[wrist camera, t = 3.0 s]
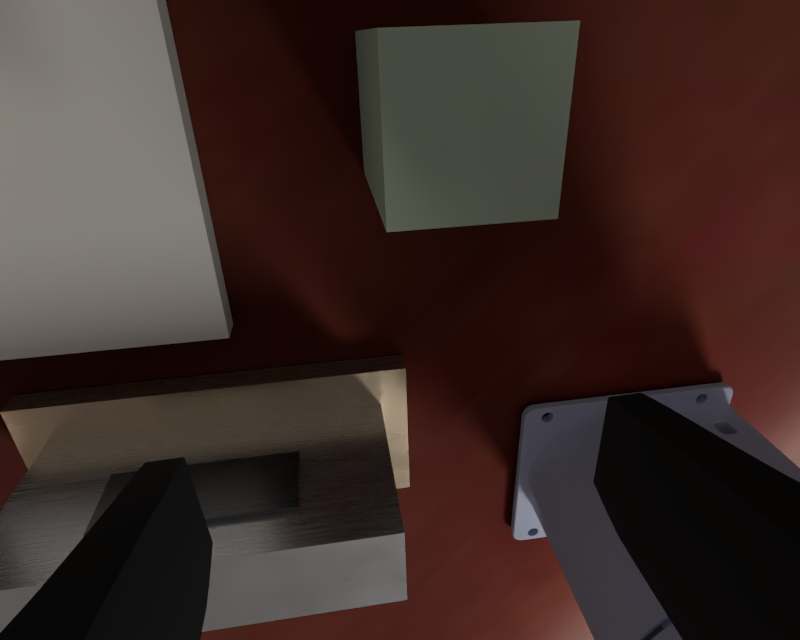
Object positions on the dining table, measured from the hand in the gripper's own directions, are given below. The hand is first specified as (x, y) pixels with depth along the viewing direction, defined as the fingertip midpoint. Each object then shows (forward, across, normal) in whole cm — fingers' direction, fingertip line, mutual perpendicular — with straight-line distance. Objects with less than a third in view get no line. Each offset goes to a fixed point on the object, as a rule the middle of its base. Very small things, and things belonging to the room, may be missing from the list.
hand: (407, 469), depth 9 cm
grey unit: (+10, +6, +7) cm, 14 cm away
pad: (+11, +10, -3) cm, 15 cm away
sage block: (+10, -2, -5) cm, 12 cm away
